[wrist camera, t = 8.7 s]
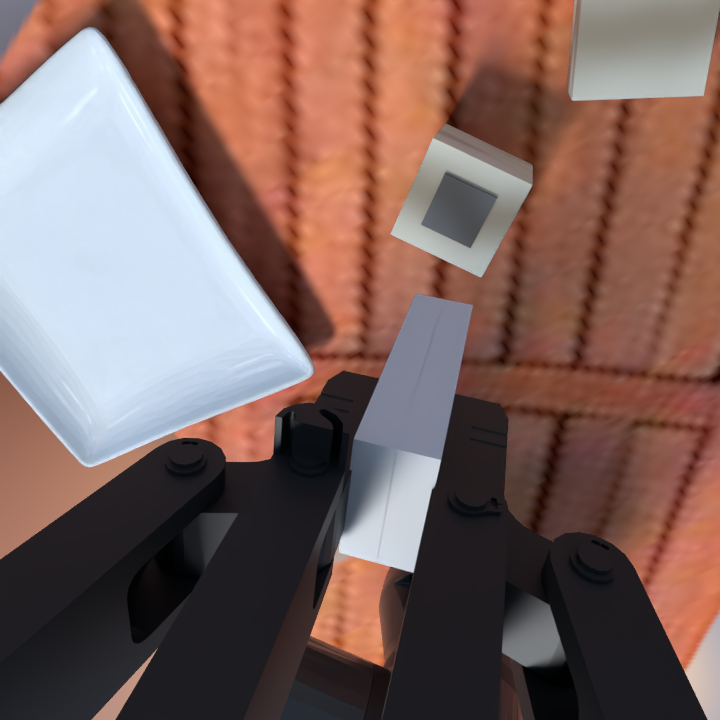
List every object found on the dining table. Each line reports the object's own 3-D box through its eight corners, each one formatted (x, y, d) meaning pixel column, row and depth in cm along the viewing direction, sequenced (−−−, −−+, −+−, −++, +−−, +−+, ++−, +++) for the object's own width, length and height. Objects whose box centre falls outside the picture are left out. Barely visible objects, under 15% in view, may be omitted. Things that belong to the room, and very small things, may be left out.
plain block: (678, 84, 35) (703, 95, 29) (566, 89, 36) (572, 100, 31) (699, -42, 32) (731, -54, 27) (577, -32, 33) (585, -41, 28)
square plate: (-94, 204, 52) (-136, 217, 49) (125, 18, 40) (89, 18, 37) (104, 450, 60) (79, 475, 57) (332, 354, 49) (318, 379, 46)
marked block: (487, 247, 42) (481, 279, 36) (407, 209, 42) (389, 235, 36) (532, 164, 38) (532, 186, 33) (446, 123, 38) (432, 138, 33)
